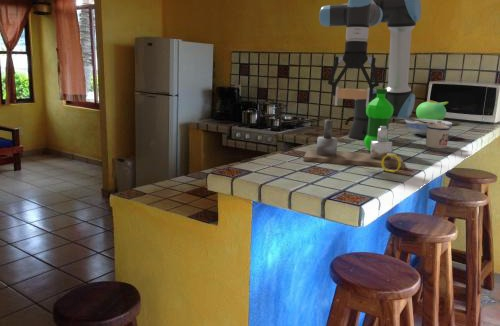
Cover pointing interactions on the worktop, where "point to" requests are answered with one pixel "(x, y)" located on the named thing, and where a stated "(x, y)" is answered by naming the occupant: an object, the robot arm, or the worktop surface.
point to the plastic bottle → (377, 116)
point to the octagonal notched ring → (352, 93)
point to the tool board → (343, 153)
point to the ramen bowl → (422, 125)
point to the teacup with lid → (437, 135)
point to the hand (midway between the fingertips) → (351, 105)
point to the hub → (381, 145)
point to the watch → (391, 156)
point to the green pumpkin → (431, 110)
